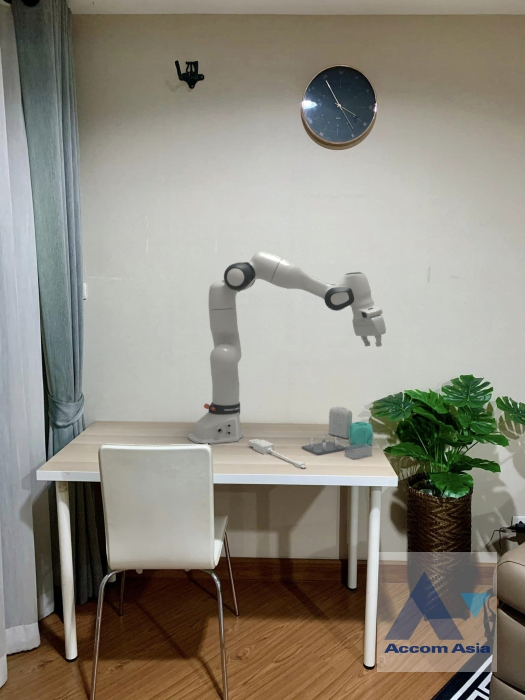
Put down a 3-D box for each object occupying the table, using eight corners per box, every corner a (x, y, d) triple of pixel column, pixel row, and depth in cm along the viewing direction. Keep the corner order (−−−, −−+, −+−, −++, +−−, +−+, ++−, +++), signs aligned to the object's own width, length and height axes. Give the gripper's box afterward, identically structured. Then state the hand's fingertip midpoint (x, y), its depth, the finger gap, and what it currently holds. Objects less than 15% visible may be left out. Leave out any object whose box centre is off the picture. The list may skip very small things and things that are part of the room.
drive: (353, 460, 223) (353, 449, 223) (344, 456, 228) (344, 445, 227) (371, 456, 228) (372, 445, 228) (362, 453, 232) (362, 442, 232)
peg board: (317, 455, 228) (317, 445, 227) (301, 448, 236) (301, 438, 235) (346, 450, 235) (346, 439, 234) (329, 443, 243) (330, 433, 243)
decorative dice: (352, 446, 240) (353, 426, 239) (349, 440, 248) (349, 421, 247) (372, 446, 240) (373, 426, 239) (368, 440, 248) (369, 421, 247)
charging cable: (298, 473, 211) (299, 464, 210) (247, 446, 237) (247, 438, 236) (310, 470, 214) (310, 461, 213) (257, 444, 240) (258, 436, 239)
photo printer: (352, 437, 253) (354, 408, 252) (346, 439, 250) (347, 409, 248) (332, 432, 260) (333, 404, 258) (326, 434, 257) (327, 405, 255)
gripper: (346, 315, 246) (354, 348, 247) (369, 313, 226) (378, 348, 228) (359, 311, 248) (368, 343, 249) (383, 308, 228) (393, 344, 230)
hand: (373, 346), depth 238 cm, fingers open, 8 cm apart
